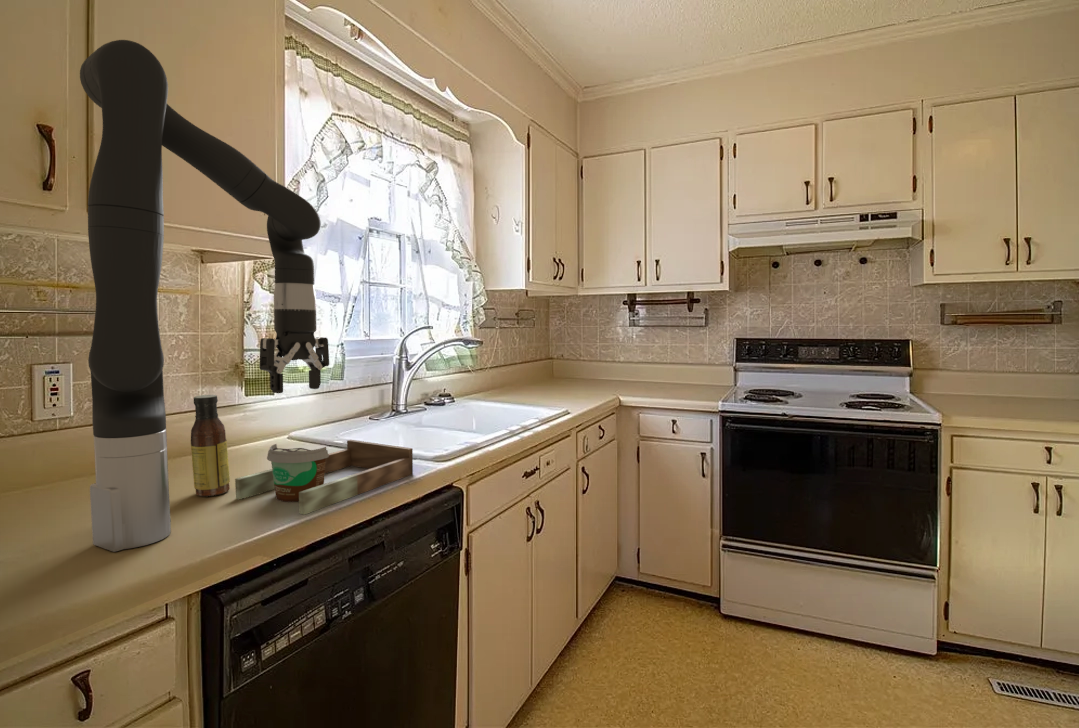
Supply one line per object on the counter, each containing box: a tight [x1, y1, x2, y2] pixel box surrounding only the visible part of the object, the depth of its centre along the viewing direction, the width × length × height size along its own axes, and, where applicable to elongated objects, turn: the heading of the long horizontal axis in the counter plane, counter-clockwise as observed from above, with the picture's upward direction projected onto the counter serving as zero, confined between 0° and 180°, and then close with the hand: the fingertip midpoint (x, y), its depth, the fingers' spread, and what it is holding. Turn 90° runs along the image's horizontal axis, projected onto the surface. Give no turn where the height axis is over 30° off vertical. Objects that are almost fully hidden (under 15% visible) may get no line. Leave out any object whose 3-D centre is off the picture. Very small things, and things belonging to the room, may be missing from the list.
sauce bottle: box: [190, 394, 231, 498], centre depth 110 cm, size 6×6×20 cm
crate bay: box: [234, 439, 414, 515], centre depth 117 cm, size 30×19×6 cm, turn 153°
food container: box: [266, 443, 329, 503], centre depth 108 cm, size 12×6×10 cm, turn 78°
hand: (296, 390), depth 108 cm, fingers open, 8 cm apart
